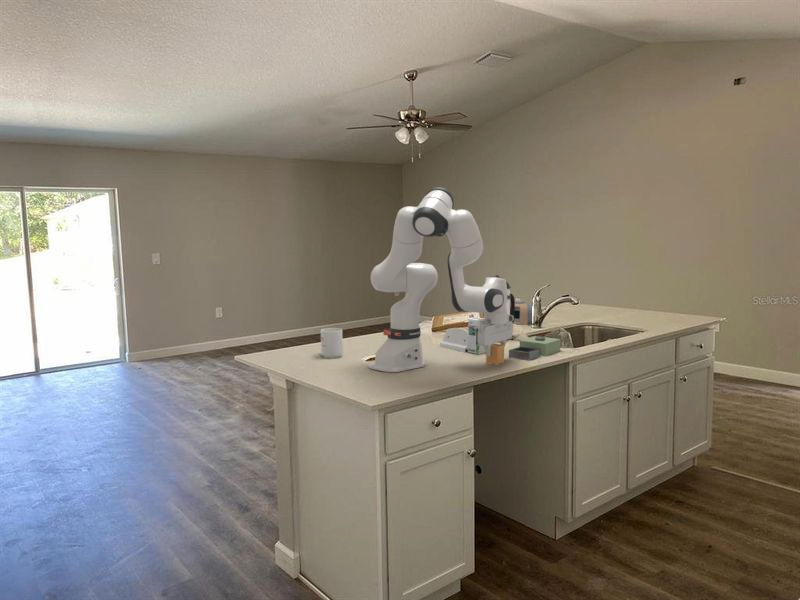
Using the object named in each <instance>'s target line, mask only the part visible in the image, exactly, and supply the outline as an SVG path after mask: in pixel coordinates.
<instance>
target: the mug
mask: <svg viewBox="0 0 800 600" xmlns="http://www.w3.org/2000/svg"><path fill="white" fill-rule="evenodd" d="M343 339H344V338H343V329H342V328H338V327H329V328H328V327H327V328H322V329H320V349H321V350H320V353H321V356H322V357H323V358H326V359H338V358H341V356H343V354H344V351H343V350H344V345H343V344H344V343H343Z"/></svg>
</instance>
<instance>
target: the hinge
mask: <svg viewBox="0 0 800 600" xmlns="http://www.w3.org/2000/svg"><path fill="white" fill-rule="evenodd" d="M438 347H439V348H443V349H446V350H447V349H448V350H452V351H457V352H461V353H466V351H468V329H465V328H462V327H461V328H460V327H451V328H447V329H446V331H445V333H444V336H443V339H442V341H441V342H440V343H439V346H438Z"/></svg>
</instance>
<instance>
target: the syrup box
mask: <svg viewBox="0 0 800 600" xmlns="http://www.w3.org/2000/svg"><path fill="white" fill-rule="evenodd" d="M483 321H484V317H482V318H481V317H469V318H468V322H467V323H468V326H467V328H468V329H467V330H468V350H467V353H469V354H470V353H471V354H475V355H479V354H484V353H485V354H486V351H485V349H484V346H481V345H479V344H478V330H479V327H480V325H481V323H482V322H483Z"/></svg>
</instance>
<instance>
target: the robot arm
mask: <svg viewBox="0 0 800 600" xmlns="http://www.w3.org/2000/svg"><path fill="white" fill-rule="evenodd" d="M454 206H455V198H454V195H453V193H452V192H451V191H450V189H448V188H446V187H443V186H437V187H434V188H432V189H430V190H429V191H428V192H427V193H426V194H425V195H424V196H423V198H422V199H420V202H419V204H418V206H411V205H410V206H408V205H407V206H404V207H402V208H400V209H399V210H398V211H397V214H396V217H395V222H394V224H393V233H392V242H391V249H390V253H389V254H388V255H387V257H386V258H385V259H384V260H382V262H381V263H379V264H377V265H375V266H374V267H373V268H372V270H371V272H370V283H371V285H372V287H373V288H374V290H375V291H379V292H385V293H405V295H404V297H403V298H402V299H401V300H399V301H397V302H395V303H394V304H393V305H392V306H391V307H390V327H389V329H388V330H387V329H384V330H383V332H382V333H383V336H387V338H386V340H385V341H384V342H383V343H382V344H381V346H380V347H379V348H378V349H377V350H376V353H375V357H374V358H375V360H374V362H372V363H369V365H368V368H370V369H372V370H375V371H380V372H386V373H387V372H388V373H398V372H403V371H408V370H412V369H413V370H414V369H419V368H423V367H425V366H426V363H425V362H424V356H423V348H422V347H423V346H422V342H421V339H420V337H421V333H422V332H421V327H420V313H421V312H420V310H421V305H422V302H423V300H424V298H425V297H426V295H428V293H429V292H430V291H432V290H433V289H434V288H435V287H436V285H437V283H438V279H439V277H438V276H439V273H438V272H437V269H436V268H435V266H434V265H433V264H430V263H423V262H416V261H417V260H418V259H419V258H420V257H421V255H422V253H423V243H424V237H428V238H433V237H442V236H444V235H447V238H448V241H449V244H450V248H451V251H449V253H448V256H447V271H448V276H449V277H448V278H449V282H450V283H449V284H450V288H451V290H450V291H451V294H450V295H451V303H452V305H453V307H454V309H455V310H456V311H457V312H460V313H466V312H467V313H469V312H471V313H482V314H483V319H484V321H483V322H482V323H481V325H480V327H479V330H478V344H479V345H481V346H484V349H485V351H486V352H485V356H491V355H492V354H491V353H492V351H490V345H491V344H501V345H504V348H505V347H506V345H507V341H508V340H510V339H512V337H513V332H514V326H513V323H512V321H513V319H514V317H513V315H510V314H507V308H506V302H507V285H506V282H507V281H506V278H503V277H500V276H499V277H495V276H490V275H489V276H487V277H485V280H484V284H483V285H482V286H474V285H473V286H471V285H468V284H466V282H465V277H464V267H466V266H468V265H471V264H473V263H474V262H476V261H477V260H479V258H480V257H481V256H482V254H483V251H484V242H483V238H482V235H481V232H480V228H479V226H478V224H477V222H476V219H475V218H474V216H473V214H472V213H471V212H470V211H469V210H467V209H463V208H461V209H457V210H456V209H454Z"/></svg>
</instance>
